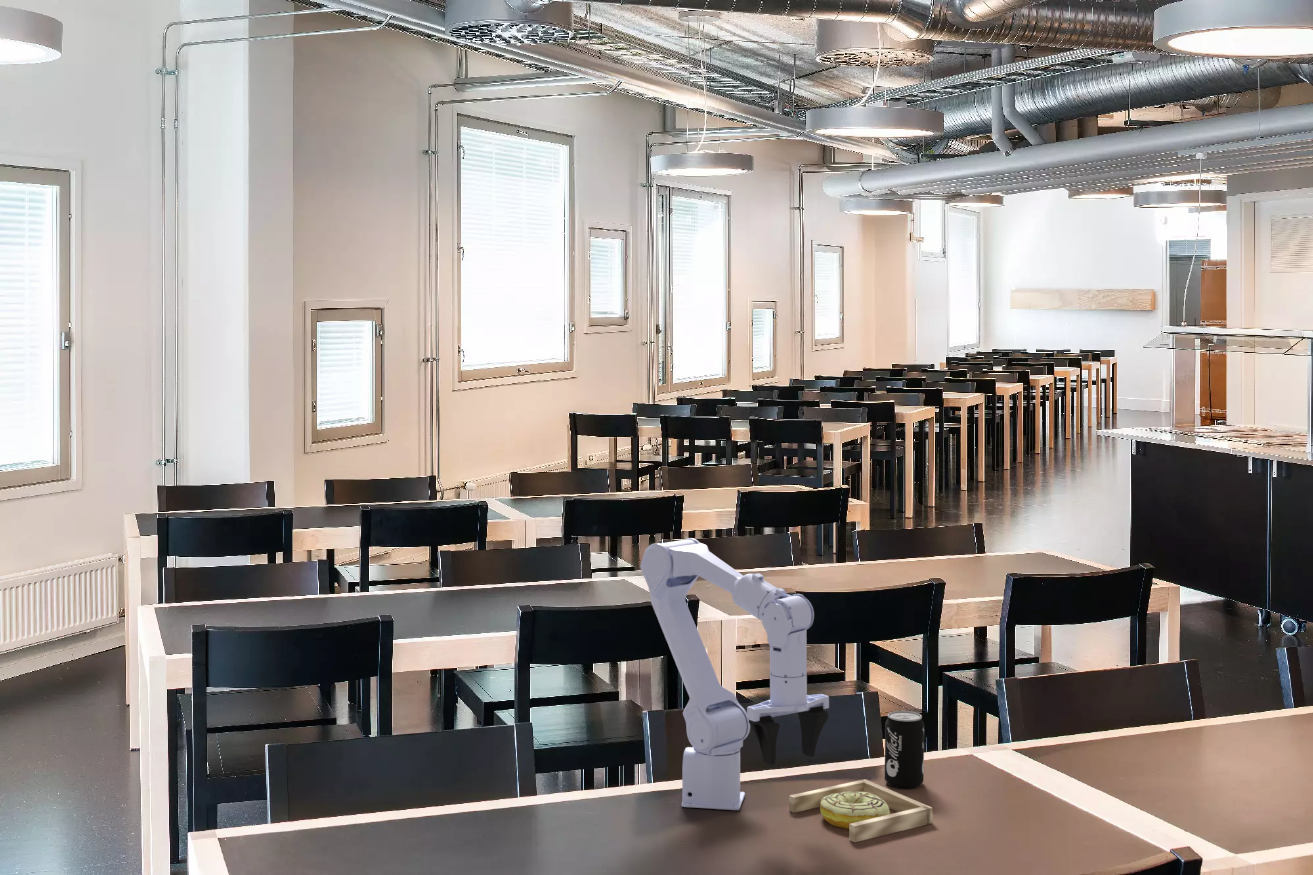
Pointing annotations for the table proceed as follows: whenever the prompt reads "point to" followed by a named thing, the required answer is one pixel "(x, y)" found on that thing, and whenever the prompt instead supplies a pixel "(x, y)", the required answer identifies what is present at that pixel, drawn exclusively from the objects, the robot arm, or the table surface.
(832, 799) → the decorated donut
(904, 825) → the u-shaped wooden bracket
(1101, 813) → the table surface
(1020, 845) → the table surface
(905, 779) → the beverage can
